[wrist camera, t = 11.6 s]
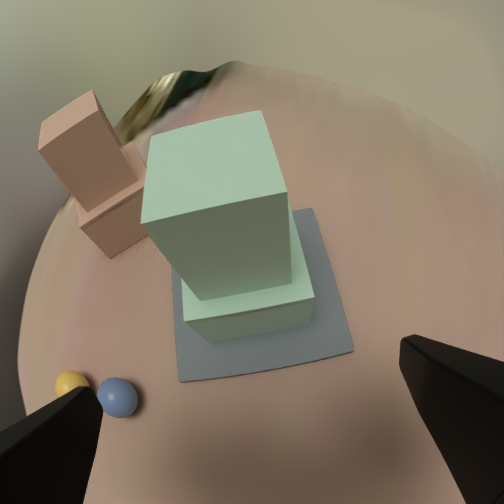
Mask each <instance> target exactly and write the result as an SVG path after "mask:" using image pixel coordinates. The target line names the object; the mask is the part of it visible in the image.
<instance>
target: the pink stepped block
mask: <svg viewBox="0 0 504 504" xmlns="http://www.w3.org/2000/svg"><path fill="white" fill-rule="evenodd" d="M38 151H39V153H40V154H41V155H42V157H43V158H44V159H45V161H46V162H47V163H48V165H49V166H50V167H51V168H52V170H53V171H54V172H55V174H56V175H57V176H58V178H59V179H60V180H61V181H62V183H63V184H64V185H65V186H66V188H67V189H68V190H69V191H70V193H71V194H72V195H73V196H74V197H75V204H76V210H77V216H78V222H79V227H80V228H81V229H82V230H83V231H84V233H85V234H86V235H87V236H88V237H89V238H90V239H91V240H92V241H93V242H94V243H95V244H96V245H97V246H98V247H99V248H100V249H101V250H102V251H103V252H104V253H105V254H106V255H107V256H108V257H109V258H112V257H114V256H115V255H117V254H118V253H120V252H122V251H123V250H125V249H126V248H128V247H130V246H131V245H133V244H134V243H136V242H138V241H139V240H141V239H143V238H144V237H146V236H148V234H147V232H146V231H145V229H144V228H143V227H142V225H141V213H142V202H143V193H144V184H145V176H146V168H147V167H146V165H145V163H144V161H143V160H142V158H141V156H140V154H139V152H138V150H137V148H136V146H135V144H134V142H133V141H132V142H131V143H129V144H127V145H125V146H124V147H123V146H122V144H121V142H120V140H119V138H118V136H117V135H116V133H115V131H114V129H113V127H112V125H111V124H110V122H109V120H108V118H107V116H106V114H105V112H104V110H103V108H102V107H101V105H100V103H99V101H98V99H97V97H96V95H95V93H94V91H93V90H90V91H89V92H87V93H85V94H84V95H82V96H80V97H79V98H77V99H76V100H74V101H73V102H71V103H69V104H68V105H66V106H65V107H63V108H62V109H60V110H59V111H58V112H56V113H54V114H53V115H52V116H50V117H49V118H47V119H46V120H45V121H43V122H42V123H41V130H40V137H39V146H38Z"/></svg>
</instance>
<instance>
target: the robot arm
mask: <svg viewBox="0 0 504 504" xmlns="http://www.w3.org/2000/svg"><path fill="white" fill-rule="evenodd" d="M399 366H400V370H401V372H402V375H403V377H404V379H405V381H406V384H407V386H408V388H409V391H410V393H411V396H412V398H413V400H414V403H415V405H416V407H417V410H418V412H419V414H420V416H421V418H422V419H423V421H424V423H425V425H426V426H427V428H428V430H429V432H430V434H431V436H432V437H433V439H434V441H435V443H436V445H437V447H438V449H439V450H440V452H441V454H442V456H443V458H444V460H445V462H446V464H447V466H448V468H449V470H450V472H451V474H452V476H453V478H454V480H455V482H456V484H457V486H458V488H459V490H460V492H461V494H462V496H463V498H464V500H465V502H466V504H504V362H503V361H500V360H496V359H493V358H490V357H486V356H483V355H480V354H476V353H473V352H470V351H467V350H463V349H460V348H457V347H454V346H451V345H447V344H444V343H441V342H438V341H435V340H432V339H429V338H426V337H422V336H419V335H416V334H413V335H410V336H407V337H404V338H402V340H401V343H400V357H399ZM102 417H103V407H102V405H101V403H100V401H99V400H98V398H97V396H96V394H95V393H94V391H93V389H92V388H91V387H89V386H78V387H76V388H74V389H73V390H71V391H69V392H68V393H66V394H64V395H62V396H61V397H59V398H57V399H56V400H54V401H52V402H51V403H49V404H47V405H46V406H44V407H42V408H40V409H39V410H37V411H35V412H34V413H32V414H30V415H28V416H27V417H25V418H23V419H21V420H20V421H18V422H16V423H14V424H13V425H11V426H9V427H7V428H6V429H4V430H3V431H0V504H83V502H84V497H85V493H86V489H87V485H88V481H89V477H90V473H91V469H92V465H93V462H94V458H95V454H96V449H97V444H98V438H99V433H100V427H101V422H102Z"/></svg>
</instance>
